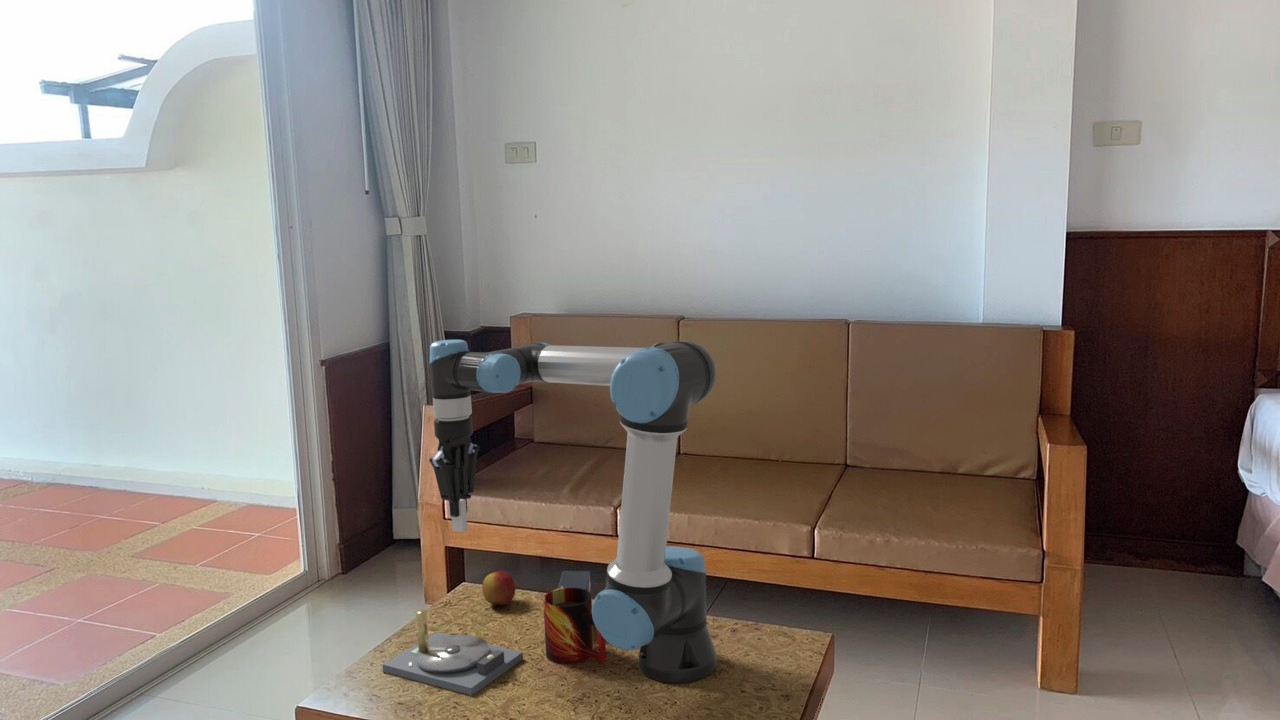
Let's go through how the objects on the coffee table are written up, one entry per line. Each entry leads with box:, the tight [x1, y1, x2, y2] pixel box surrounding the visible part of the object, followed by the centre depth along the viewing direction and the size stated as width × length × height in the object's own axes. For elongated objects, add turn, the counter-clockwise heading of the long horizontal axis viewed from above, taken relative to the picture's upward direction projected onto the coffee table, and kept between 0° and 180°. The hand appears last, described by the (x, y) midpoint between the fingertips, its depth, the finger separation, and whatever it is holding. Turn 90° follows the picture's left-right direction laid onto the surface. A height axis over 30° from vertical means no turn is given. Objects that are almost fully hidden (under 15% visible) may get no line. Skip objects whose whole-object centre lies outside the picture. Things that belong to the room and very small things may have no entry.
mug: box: [542, 588, 607, 666], centre depth 185 cm, size 10×14×12 cm
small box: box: [557, 570, 592, 594], centre depth 199 cm, size 11×6×10 cm, turn 179°
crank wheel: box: [415, 609, 489, 673], centre depth 182 cm, size 14×14×9 cm
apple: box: [481, 570, 516, 606], centre depth 211 cm, size 8×8×8 cm
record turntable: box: [382, 631, 524, 697], centre depth 183 cm, size 22×16×4 cm
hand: (459, 530), depth 189 cm, fingers closed
